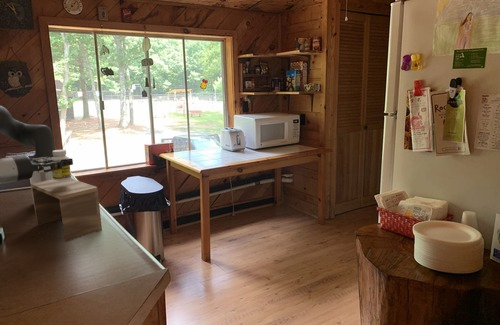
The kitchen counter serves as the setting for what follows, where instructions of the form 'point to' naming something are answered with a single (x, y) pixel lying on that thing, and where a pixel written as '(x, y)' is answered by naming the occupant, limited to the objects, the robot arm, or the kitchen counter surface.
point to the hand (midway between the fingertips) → (68, 160)
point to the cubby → (68, 206)
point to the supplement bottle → (65, 171)
